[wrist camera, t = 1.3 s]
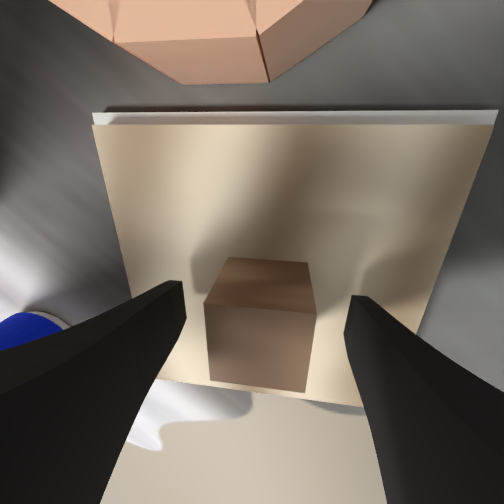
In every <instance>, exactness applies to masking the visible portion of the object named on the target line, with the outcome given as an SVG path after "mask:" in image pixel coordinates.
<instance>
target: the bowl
mask: <svg viewBox="0 0 504 504" xmlns="http://www.w3.org/2000/svg"><path fill="white" fill-rule="evenodd" d="M49 1H51V2H52V3H54V4H55V5H57V6H58V7H60V8H61V9H63V10H64V11H66V12H67V13H69V14H70V15H72V16H73V17H75V18H76V19H78V20H79V21H81V22H82V23H84V24H85V25H87V26H88V27H90V28H91V29H93V30H95V31H96V32H98V33H99V34H101V35H102V36H104V37H105V38H107V39H108V40H110V41H111V42H113V43H114V44H116V45H118V46H119V47H121V48H123V49H124V50H126V51H127V52H129V53H131V54H132V55H134V56H136V57H137V58H139V59H140V60H142V61H144V62H145V63H147V64H149V65H150V66H152V67H154V68H155V69H157V70H158V71H160V72H162V73H163V74H165V75H167V76H168V77H170V78H171V79H173V80H175V81H176V82H178V83H180V84H182V85H193V84H239V83H269V79H270V82H272V81H273V80H275V79H276V78H277V77H279V76H280V75H282V74H283V73H284V72H286V71H287V70H289V69H290V68H292V67H293V66H294V65H296V64H297V63H299V62H300V61H302V60H303V59H304V58H306V57H307V56H309V55H310V54H312V53H313V52H314V51H316V50H317V49H319V48H320V47H322V46H323V45H324V44H326V43H327V42H329V41H330V40H332V39H333V38H334V37H336V36H337V35H339V34H340V33H342V32H343V31H344V30H346V29H347V28H349V27H350V26H352V25H353V24H354V23H356V22H357V21H359V20H360V19H362V17H363V16H364V15H365V13H366V11H367V10H368V8H369V6H370V5H371V3H372V1H373V0H49Z"/></svg>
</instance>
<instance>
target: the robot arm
mask: <svg viewBox="0 0 504 504" xmlns="http://www.w3.org/2000/svg"><path fill="white" fill-rule="evenodd" d="M186 319H187V315H186V307H185V299H184V291H183V283H182V281H176V280H168V281H166V282H163V283H161V284H159V285H157V286H155V287H153V288H151V289H150V290H148V291H146V292H144V293H142V294H140V295H138V296H136V297H134V298H133V299H131V300H129V301H127V302H125V303H123V304H121V305H119V306H117V307H115V308H113V309H111V310H109V311H107V312H104V313H102V314H100V315H98V316H96V317H94V318H91V319H89V320H87V321H84V322H82V323H80V324H77V325H75V326H72V327H70V328H67V329H65V330H62V331H59V332H56V333H53V334H51V335H48V336H45V337H42V338H39V339H36V340H33V341H30V342H28V343H24V344H21V345H18V346H15V347H11V348H8V349H5V350H2V351H0V504H100V502H101V499H102V496H103V494H104V491H105V489H106V486H107V484H108V481H109V479H110V476H111V474H112V472H113V469H114V467H115V464H116V462H117V459H118V457H119V454H120V452H121V450H122V448H123V445H124V443H125V441H126V438H127V436H128V434H129V432H130V429H131V427H132V425H133V423H134V420H135V418H136V416H137V414H138V412H139V410H140V407H141V405H142V403H143V401H144V399H145V397H146V395H147V393H148V391H149V389H150V387H151V386H152V384H153V382H154V380H155V379H156V377H157V375H158V374H159V372H160V370H161V368H162V367H163V365H164V363H165V362H166V360H167V358H168V356H169V355H170V353H171V351H172V349H173V348H174V346H175V344H176V342H177V341H178V339H179V337H180V334H181V332H182V330H183V327H184V324H185V322H186ZM343 336H344V341H345V347H346V352H347V357H348V360H349V363H350V367H351V370H352V373H353V376H354V379H355V382H356V385H357V388H358V391H359V394H360V397H361V400H362V403H363V406H364V409H365V412H366V415H367V418H368V421H369V425H370V429H371V432H372V437H373V441H374V445H375V450H376V454H377V458H378V463H379V467H380V472H381V476H382V481H383V486H384V490H385V495H386V499H387V504H504V392H502V391H501V390H499V389H497V388H495V387H494V386H492V385H490V384H489V383H487V382H485V381H484V380H482V379H480V378H479V377H477V376H476V375H474V374H472V373H471V372H469V371H468V370H466V369H465V368H463V367H462V366H460V365H458V364H457V363H455V362H454V361H452V360H451V359H449V358H448V357H446V356H445V355H443V354H442V353H441V352H439V351H438V350H436V349H435V348H434V347H432V346H431V345H429V344H428V343H427V342H425V341H424V340H423V339H421V338H420V337H419V336H417V335H416V334H415V333H413V332H412V331H411V330H409V329H408V328H407V327H406V326H404V325H403V324H402V323H401V322H399V321H398V320H397V319H396V318H394V317H393V316H392V315H391V314H390V313H388V312H387V311H386V310H385V309H383V308H382V307H381V306H380V305H379V304H377V303H376V302H375V301H374V300H372V299H371V298H369V297H368V296H361V295H351V300H350V305H349V309H348V314H347V319H346V323H345V328H344V332H343Z"/></svg>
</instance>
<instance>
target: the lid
mask: <svg viewBox="0 0 504 504" xmlns="http://www.w3.org/2000/svg"><path fill="white" fill-rule="evenodd" d="M494 126H495V125H92V128H93V133H94V137H95V141H96V145H97V150H98V154H99V158H100V163H101V167H102V171H103V176H104V180H105V184H106V188H107V193H108V197H109V201H110V206H111V210H112V214H113V218H114V223H115V227H116V231H117V236H118V240H119V244H120V249H121V253H122V257H123V261H124V266H125V270H126V274H127V279H128V283H129V287H130V291H131V296H132V299H133V298H134V297H136V296H138V295H140V294H142V293H144V292H146V291H148V290H150V289H151V288H153V287H155V286H157V285H159V284H161V283H163V282H166V281H168V280H176V281H182V283H183V291H184V299H185V307H186V315H187V319H186V322H185V324H184V327H183V330H182V332H181V334H180V337H179V339H178V341H177V342H176V344H175V346H174V348H173V349H172V351H171V353H170V355H169V356H168V358H167V360H166V362H165V363H164V365H163V367H162V368H161V370H160V372H159V374H158V375H157V377H156V379H163V380H170V381H177V382H185V383H192V384H199V385H206V386H214V387H221V388H228V389H236V390H243V391H250V392H257V393H265V394H272V395H280V396H287V397H294V398H301V399H308V400H316V401H323V402H330V403H338V404H345V405H352V406H359V407H364V406H363V403H362V400H361V397H360V394H359V391H358V388H357V385H356V382H355V379H354V376H353V373H352V370H351V367H350V363H349V360H348V357H347V352H346V347H345V341H344V336H343V332H344V328H345V323H346V319H347V314H348V309H349V305H350V300H351V295H361V296H368V297H369V298H371V299H372V300H374V301H375V302H376V303H377V304H379V305H380V306H381V307H382V308H383V309H385V310H386V311H387V312H388V313H390V314H391V315H392V316H393V317H394V318H396V319H397V320H398V321H399V322H401V323H402V324H403V325H404V326H406V327H407V328H408V329H409V330H411V331H412V332H413V333H415V334H416V333H417V330H418V327H419V325H420V322H421V319H422V317H423V314H424V312H425V309H426V306H427V304H428V301H429V298H430V296H431V293H432V290H433V288H434V285H435V282H436V280H437V277H438V275H439V272H440V269H441V267H442V264H443V261H444V259H445V256H446V253H447V251H448V248H449V245H450V243H451V240H452V237H453V235H454V232H455V230H456V227H457V224H458V222H459V219H460V216H461V214H462V211H463V208H464V206H465V203H466V200H467V198H468V195H469V192H470V190H471V187H472V185H473V182H474V179H475V177H476V174H477V171H478V169H479V166H480V163H481V161H482V158H483V155H484V153H485V150H486V147H487V145H488V142H489V140H490V137H491V134H492V132H493V129H494Z"/></svg>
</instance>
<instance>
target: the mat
mask: <svg viewBox="0 0 504 504" xmlns="http://www.w3.org/2000/svg"><path fill="white" fill-rule="evenodd" d="M498 111H499V110H419V111H277V112H135V113H92V115H93V119H94V123H95V125H493V124H494V122H495V119H496V116H497V114H498Z"/></svg>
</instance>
